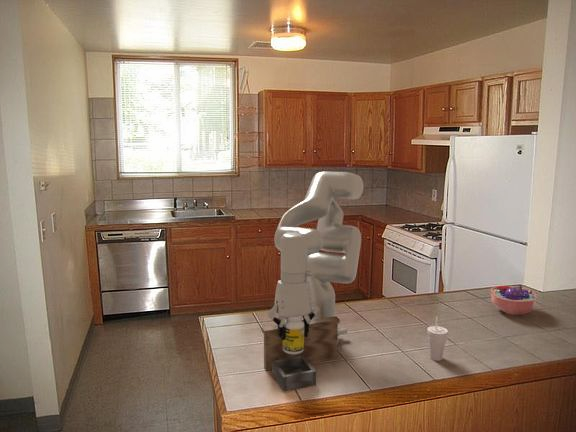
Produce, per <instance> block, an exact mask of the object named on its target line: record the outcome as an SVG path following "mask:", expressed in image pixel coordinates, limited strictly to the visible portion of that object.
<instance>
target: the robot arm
mask: <svg viewBox="0 0 576 432" xmlns="http://www.w3.org/2000/svg"><path fill="white" fill-rule="evenodd" d="M363 192H364V181H363V179H362V177H361V176H360V175H359V174H356V173H352V172H348V171H327V170H326V171H319V172H317V173H315V175H313V177H312V178H311V182H310V184H309V186H308V189H307V192H306V194H305V196H304V199H303V201H301V202H300V203H297V204H295V205H294V206H293V207H291V208H290V209H288V210H287V211H286V212H285V213H284V214H283V215H282V217H281V219H280V221H279V223H278V224H277V225H278V226H277V227H276V231H275V233H274V239H273V242H274V245H275V248H276V249H277V250H279V251H280V280H278V281H277V283H276V287H275V295H274V296H275V297H274V305H273V307H272V308H271V309H270V310H269V311H268V312H267V313H266V315H267V317H268V318H270V319H271V321H273V322H274V323H275V324H276V325H278V336H279V337H280V338H281V339H282V340H285V327H284V323H285V320H286V318H287V317H293V316H302V321H303V322H304V336H305V337H308V333H309V323H310V322H311V320H314V319H321V318H328V317H335V316H336V315H335V314H336V310H335V309H336V293H335V289H334V287H333V286H332V284H331V283H337V284H346V285H347V284H348V285H349V284H352V283H353V282H354V281H355V280H356V275H357V271H358V265H359V259H360V251H361V245H362V244H361V243H362V234H361V231H360V229H359V228H358V227H357V226H353V225H349V224H346V225H345V224H343V222H344V216H345V215H344V211H343V209H342V208H341V207H340V205H339V204H338V202H337V201H336V200H335V199H339V200H340V199H341V200H358V199H360V198H361V196H362V194H363ZM316 220H318V221H317V225H316V228H308V227H301V225H303V224H305V223H306V224H307V223H310V222H314V221H316ZM299 226H300V227H299ZM320 251H323V252H320ZM342 253H343V254H342ZM276 313H277V314H278V317H277V316H275V314H276ZM345 334H348V330H347V328H346V327H345V328H342V327H341V326H338V334H337V345H338V344H339V341H340V340H339V336H340V335H345Z"/></svg>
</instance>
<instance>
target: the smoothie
mask: <svg viewBox="0 0 576 432" xmlns="http://www.w3.org/2000/svg"><path fill="white" fill-rule="evenodd" d="M438 319H439V318H438V316H435V325H431V326H428V327H427V331H426V333H427V336H428V347H429V348H428V349H429V350H428V351H429V358H430V359H431V360H433V361H438V362H439V361H441V360H443V355H444V350H445V345H446V340H447V337H448V335H449V330H448V329H447V328H445V327H443V326H439V325H438Z"/></svg>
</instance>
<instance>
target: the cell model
mask: <svg viewBox="0 0 576 432" xmlns="http://www.w3.org/2000/svg"><path fill="white" fill-rule="evenodd" d="M490 296H491V297H490V299H491V302H492V304H493V305H494V307H495V308H497V309H498V310H500V311H502V312H503V313H505V314H508V315H510V316H517V315H518V316H519V315H525V314H529V313H530V312H531V311H533V309H534V308H535V304H536V300H537V298H538V295H537V294H536V293H535V292H534V291H533V290H530V289H528V288H525V287H523V286H522V285H520V286H519V285H497V286H496V285H495V286H494V287H491V288H490Z"/></svg>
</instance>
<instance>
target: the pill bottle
mask: <svg viewBox="0 0 576 432" xmlns="http://www.w3.org/2000/svg"><path fill="white" fill-rule="evenodd" d="M302 320H303V317H302V316H293V317H287V318H286V320H285V323H284V327H285V340H283V351H284V352H286V353H288V354H299V353H301V352H303V350H304V322H303V321H302Z"/></svg>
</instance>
